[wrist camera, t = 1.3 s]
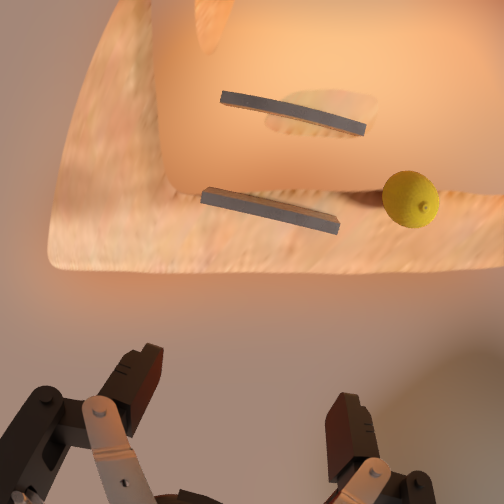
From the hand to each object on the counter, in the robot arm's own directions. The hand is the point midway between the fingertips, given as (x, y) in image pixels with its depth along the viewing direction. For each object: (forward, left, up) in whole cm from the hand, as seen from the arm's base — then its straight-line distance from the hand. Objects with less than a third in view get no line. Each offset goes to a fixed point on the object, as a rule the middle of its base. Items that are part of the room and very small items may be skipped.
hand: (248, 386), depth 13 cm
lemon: (-8, +12, -24) cm, 28 cm away
